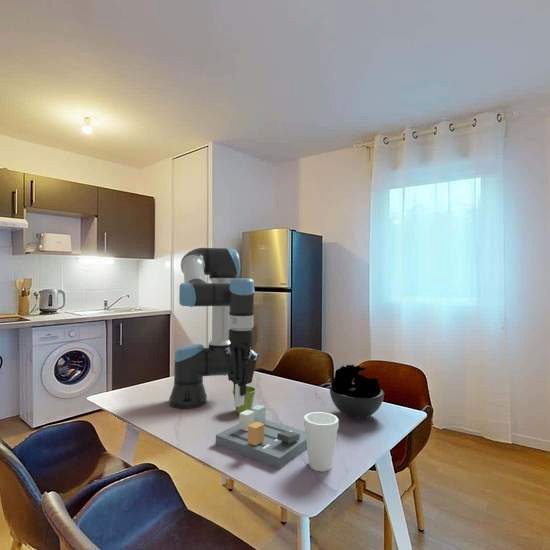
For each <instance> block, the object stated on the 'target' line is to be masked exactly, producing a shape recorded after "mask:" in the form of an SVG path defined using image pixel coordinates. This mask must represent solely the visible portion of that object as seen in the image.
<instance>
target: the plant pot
mask: <svg viewBox="0 0 550 550" xmlns="http://www.w3.org/2000/svg"><path fill="white" fill-rule="evenodd" d="M256 391H257V388H256V387H255V386H251V385H246V395H244V405H242V406H239V407H237V406H235V405H234V406H235V412H236V413H237V414H240V413H241V412H243V411H246V410H250V411H251V408H252V407H254V406H253V405H254V404H253V403H254V398H255V394H256ZM231 392H232V394H233V396H234V400H235V394H234V387H233V388H232V389H231Z"/></svg>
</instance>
